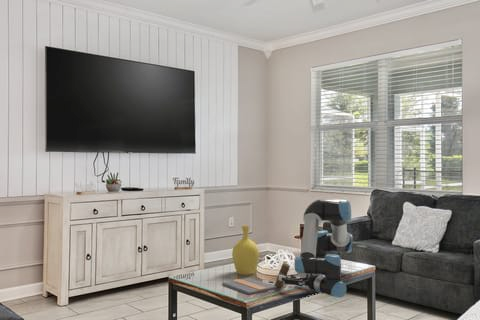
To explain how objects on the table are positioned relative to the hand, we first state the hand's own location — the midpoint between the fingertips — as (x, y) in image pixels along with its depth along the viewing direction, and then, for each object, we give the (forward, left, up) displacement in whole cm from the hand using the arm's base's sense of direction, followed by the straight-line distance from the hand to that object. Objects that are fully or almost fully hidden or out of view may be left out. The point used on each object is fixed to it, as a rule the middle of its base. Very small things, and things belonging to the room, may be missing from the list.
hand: (288, 275), depth 243 cm
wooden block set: (-2, -6, -6) cm, 9 cm away
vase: (-1, -38, -6) cm, 38 cm away
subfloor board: (+17, -12, -6) cm, 22 cm away
